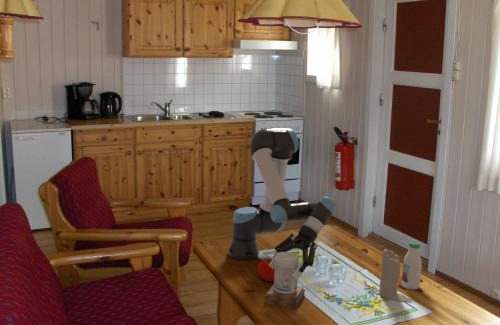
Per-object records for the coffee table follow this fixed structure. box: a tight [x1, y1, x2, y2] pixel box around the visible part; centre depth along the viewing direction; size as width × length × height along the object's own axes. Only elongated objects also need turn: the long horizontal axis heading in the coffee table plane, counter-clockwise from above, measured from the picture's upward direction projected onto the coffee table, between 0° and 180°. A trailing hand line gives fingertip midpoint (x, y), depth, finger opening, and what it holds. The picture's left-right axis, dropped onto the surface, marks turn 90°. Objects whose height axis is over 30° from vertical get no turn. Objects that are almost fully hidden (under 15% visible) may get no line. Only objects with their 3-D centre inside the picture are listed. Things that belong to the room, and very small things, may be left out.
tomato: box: [257, 258, 275, 282], centre depth 238 cm, size 11×11×9 cm
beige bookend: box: [378, 248, 413, 303], centre depth 224 cm, size 7×14×20 cm, turn 58°
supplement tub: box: [273, 251, 300, 294], centre depth 217 cm, size 10×10×15 cm
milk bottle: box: [400, 241, 423, 290], centre depth 235 cm, size 8×8×20 cm
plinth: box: [264, 284, 306, 310], centre depth 219 cm, size 13×13×4 cm
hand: (282, 272), depth 216 cm, fingers open, 13 cm apart
